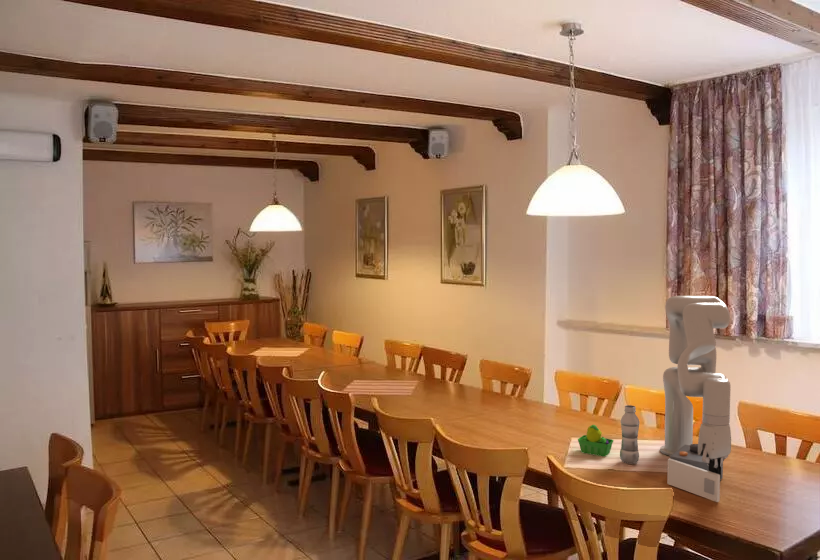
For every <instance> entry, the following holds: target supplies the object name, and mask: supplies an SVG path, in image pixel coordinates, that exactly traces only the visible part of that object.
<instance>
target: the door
mask: <svg viewBox="0 0 820 560" xmlns="http://www.w3.org/2000/svg"><path fill="white" fill-rule="evenodd" d="M666 475H667V485H670V486H673V487H675V488H678V489H681V490H683V491H686V492H689V493H692V494H694V495H696V496H700V497H703V498H706V499H707V500H711V501H713V502H716V503H718V502H720V499H721V480H720V475H719V474H716V473H713V472H710V471H707V470H704V469H701V468H698V467H695V466H692V465H689V464H686V463H683V462H680V461H677V460H673V459H670V458H668V459H667V474H666Z"/></svg>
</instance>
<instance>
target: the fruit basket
mask: <svg viewBox="0 0 820 560" xmlns="http://www.w3.org/2000/svg"><path fill="white" fill-rule="evenodd" d="M602 435H603V434H602V431H601V429H600V428H599V427H598V426H597V425H596V424H592V425H590V426H588V427H587V431H586V434H584V435H582V436H581V437H579V438H577V442H578V445H579V447H580V452H581V453H583V454H586V455H593V456H598V457H604V458H605V457H607V456H608V455H609V454H610V453H611V449H612V445H613V443H614V441H615V440H614V439H611V438H605V437H604V436H602Z"/></svg>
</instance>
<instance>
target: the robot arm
mask: <svg viewBox="0 0 820 560" xmlns="http://www.w3.org/2000/svg"><path fill="white" fill-rule="evenodd" d="M664 309H665V315H666V318H667V321H668V324H669V325H668V326H669V339H668V340H669V341H668V358H669V360H670V362H671V363H673V364H674V365H677V366H671V367H669V368H667V369H665V370H664V372H663V374H662V382H663V389H664V400H665V401H664V403H665V404H664V405H665V407H664V409H665V410H664V445H662V446H660V448H659V451H660V453H662V454H663V455H666V456H668V457H670V456H671V455H672V454H674V453H675V452H676V451H678V450H679V449H680V448H681V447H683V446H684V445H691V444H694V443H693V441H694V440H693V438H694V437H693V436H694V434H693V433H694V432H693V431H694V428H693V427H694V407H693V403H692V401H691V400H690V399H689V398H688V397H691V398H702V419H701V420H702V421H701V424H700V427H699V432H698V440H697V444H698V455H699V456H703V457H702V462H705V463H707V465H708V466H709V471H710V472H713V473H716V474H719V475H720V481H721V480H722V479H721V467H722V466H723V467H724V461H725V459H728V457H729V455H731V451H732V431H731V423H730V422H731V419H730V418H731V382H730V381H729V379H728V378H727V376H726V375H725V374H723V373H720V372H717V371H716V370H717V347H716V345H717V342H716V337H715V332H714V329H727V327H729V325H730V322H731V314H730V310H729V307H728V306H727V304H726V303H725V302H724V301H723V300H721V299H720V298H719V297H717V296H713V295H676V296H670V297H668V298H667V300H666V302H665V306H664ZM692 366H694V367H692ZM695 366H699V367H695ZM711 459H712V460H711Z"/></svg>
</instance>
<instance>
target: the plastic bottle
mask: <svg viewBox="0 0 820 560" xmlns="http://www.w3.org/2000/svg"><path fill="white" fill-rule="evenodd" d="M636 409H637V407H636V405H632V404H630V405H628V404H626V405H624V413H623V415H622V416H621V418H620V428H621V429H620V430H621V446H620V451H619V458H620V461H621V462H623V463H626V464H633V465H634V464H637V463H638V462H639V459H640V452H639V446H638V445H639V444H638V442H639V441H638V437H639V430H640V429H639V428H640V419H639V418H638V415H636Z"/></svg>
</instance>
